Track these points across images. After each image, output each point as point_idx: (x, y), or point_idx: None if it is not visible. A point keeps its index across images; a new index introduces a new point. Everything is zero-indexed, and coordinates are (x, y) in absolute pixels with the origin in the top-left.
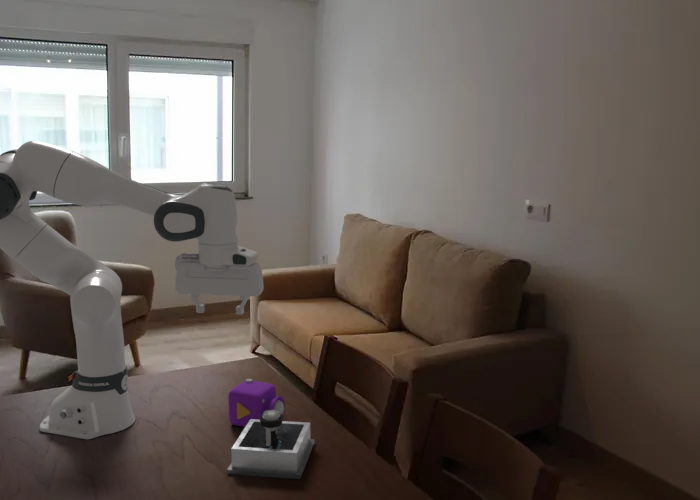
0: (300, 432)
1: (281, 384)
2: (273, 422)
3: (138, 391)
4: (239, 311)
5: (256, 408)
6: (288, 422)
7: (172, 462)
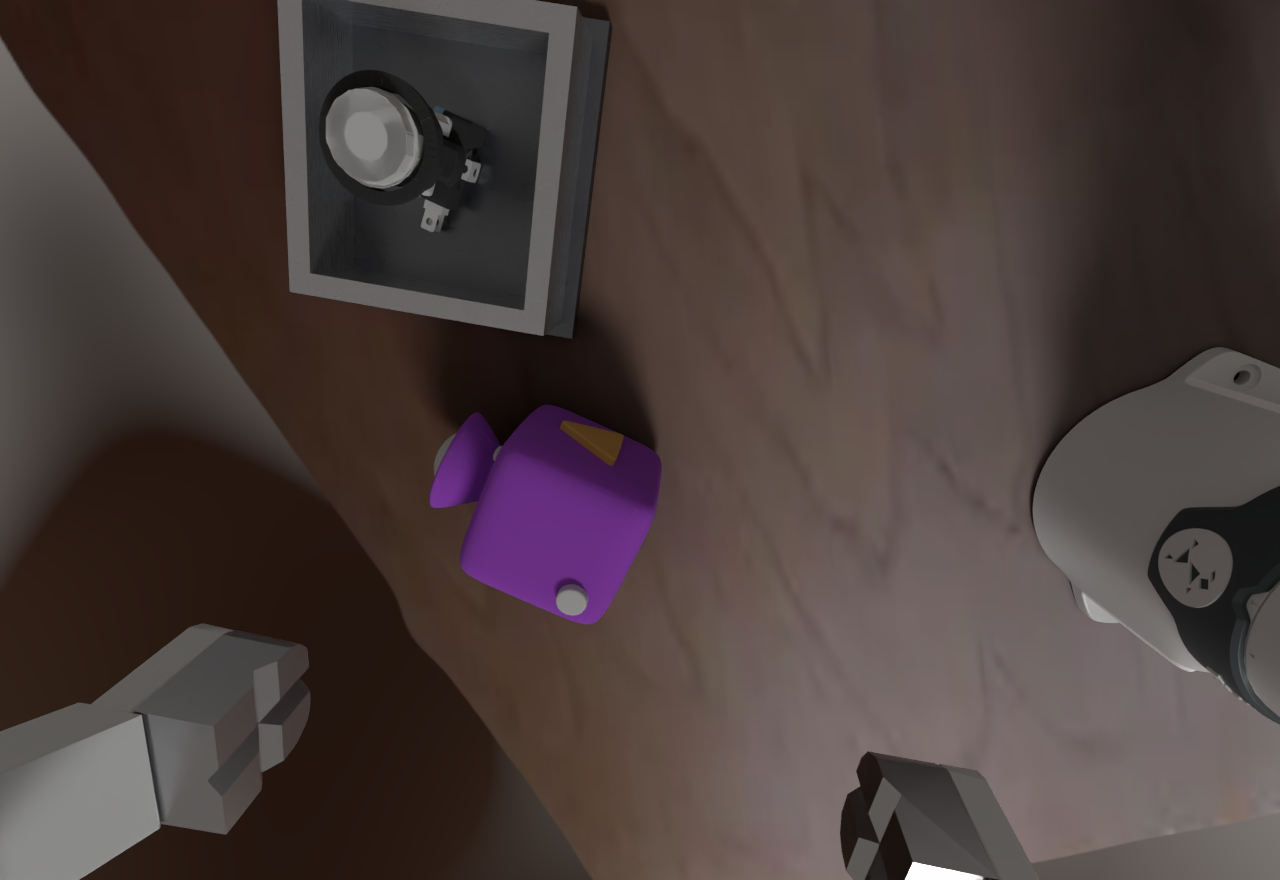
0: (346, 273)
1: (527, 754)
2: (354, 73)
3: (1036, 744)
4: (204, 656)
5: (531, 426)
6: (378, 296)
7: (844, 136)
